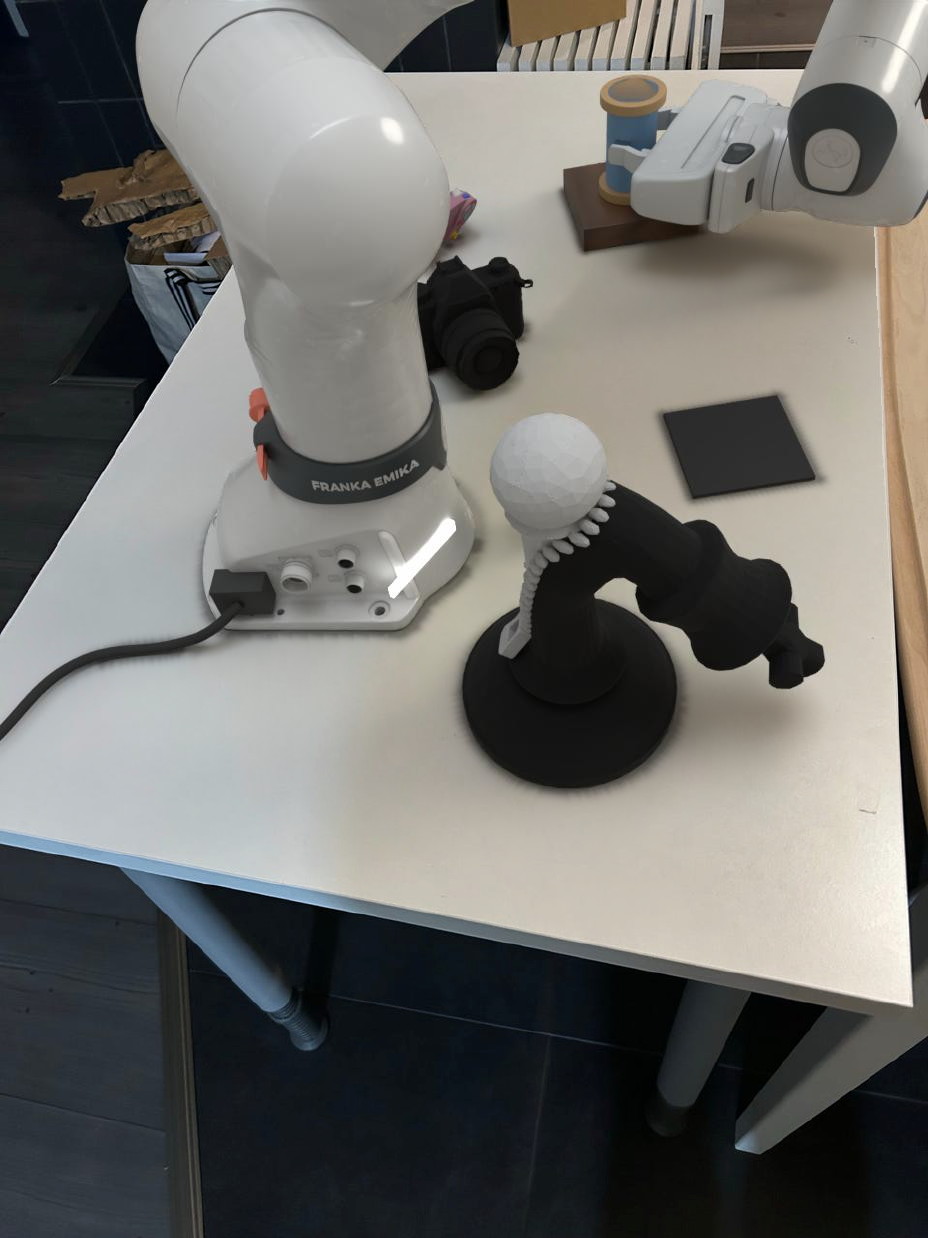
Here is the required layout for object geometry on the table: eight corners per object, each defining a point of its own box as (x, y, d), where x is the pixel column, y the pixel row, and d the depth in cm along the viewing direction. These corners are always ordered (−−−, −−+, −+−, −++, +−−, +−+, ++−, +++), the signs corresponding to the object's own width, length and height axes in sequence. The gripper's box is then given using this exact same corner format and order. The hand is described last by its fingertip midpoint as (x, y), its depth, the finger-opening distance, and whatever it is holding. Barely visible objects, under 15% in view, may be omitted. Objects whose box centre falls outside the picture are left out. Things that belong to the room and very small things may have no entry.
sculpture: (478, 599, 71) (436, 331, 51) (796, 614, 67) (888, 332, 47) (449, 778, 63) (384, 543, 42) (812, 809, 59) (932, 565, 38)
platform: (583, 251, 96) (583, 229, 94) (563, 190, 103) (563, 168, 101) (698, 232, 96) (700, 209, 94) (669, 172, 103) (671, 150, 101)
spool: (605, 209, 95) (607, 111, 87) (593, 177, 99) (594, 80, 91) (666, 199, 95) (674, 100, 87) (652, 167, 99) (658, 69, 91)
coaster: (692, 499, 75) (693, 495, 74) (663, 416, 81) (663, 412, 80) (815, 479, 75) (815, 476, 74) (776, 398, 80) (777, 394, 80)
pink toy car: (416, 286, 98) (431, 241, 92) (384, 258, 98) (396, 211, 92) (471, 238, 102) (489, 192, 96) (440, 211, 102) (456, 163, 96)
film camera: (411, 422, 84) (394, 341, 76) (376, 361, 89) (358, 280, 82) (562, 368, 86) (559, 284, 78) (519, 311, 91) (513, 228, 84)
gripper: (796, 71, 91) (663, 54, 95) (726, 179, 81) (582, 155, 86) (785, 135, 96) (659, 116, 101) (718, 244, 86) (582, 218, 91)
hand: (622, 135), depth 93 cm, fingers closed on spool, 5 cm apart
